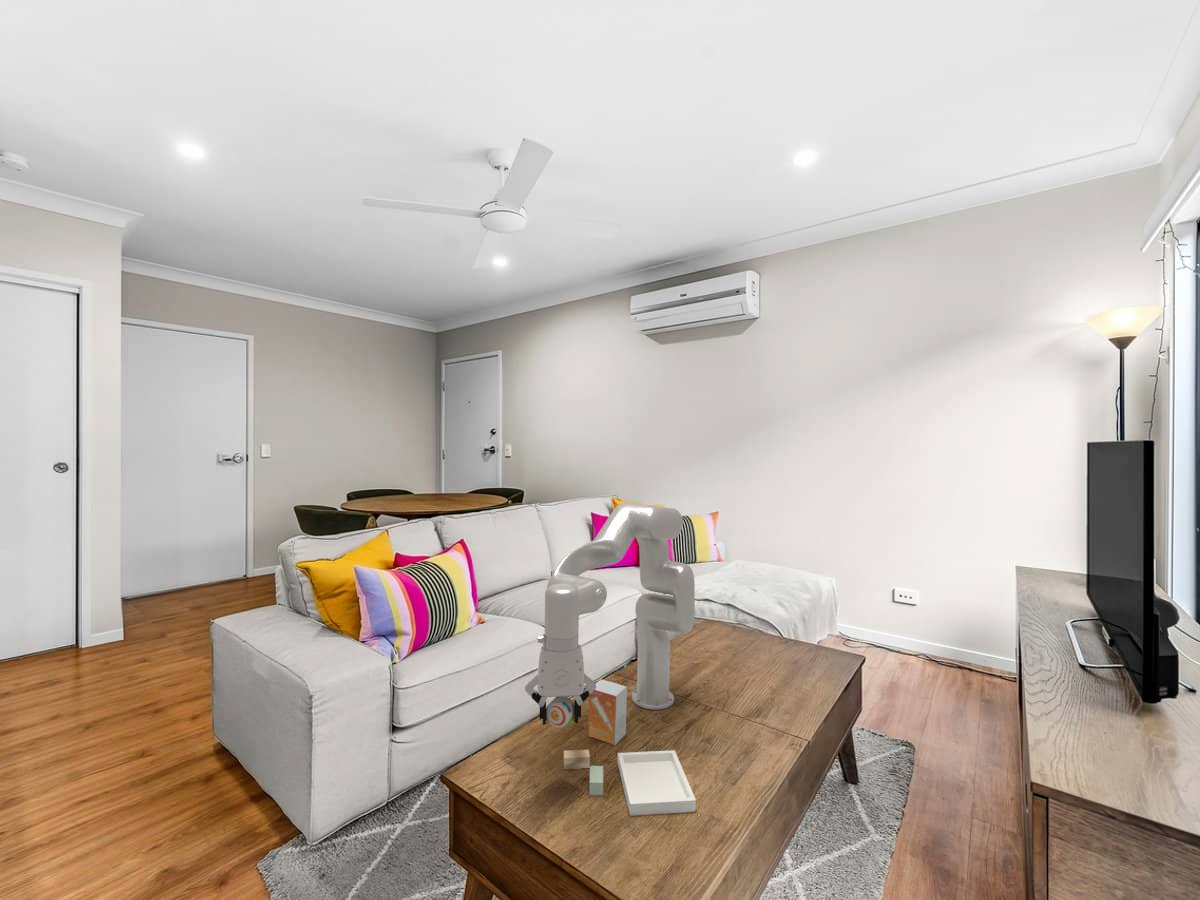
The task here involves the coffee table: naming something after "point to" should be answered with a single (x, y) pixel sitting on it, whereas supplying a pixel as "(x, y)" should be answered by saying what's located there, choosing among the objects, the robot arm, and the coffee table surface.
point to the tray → (655, 783)
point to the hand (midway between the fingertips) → (560, 720)
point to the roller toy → (560, 712)
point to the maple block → (576, 759)
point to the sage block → (596, 780)
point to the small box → (607, 712)
